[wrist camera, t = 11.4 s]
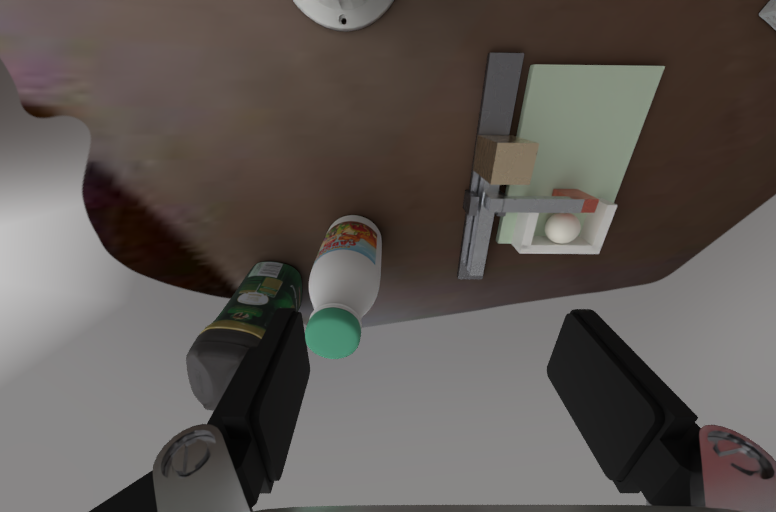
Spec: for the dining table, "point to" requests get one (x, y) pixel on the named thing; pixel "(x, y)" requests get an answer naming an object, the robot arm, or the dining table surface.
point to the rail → (490, 133)
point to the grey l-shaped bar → (512, 167)
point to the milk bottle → (343, 286)
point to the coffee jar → (240, 328)
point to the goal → (582, 244)
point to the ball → (562, 227)
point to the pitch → (580, 130)
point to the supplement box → (769, 13)
